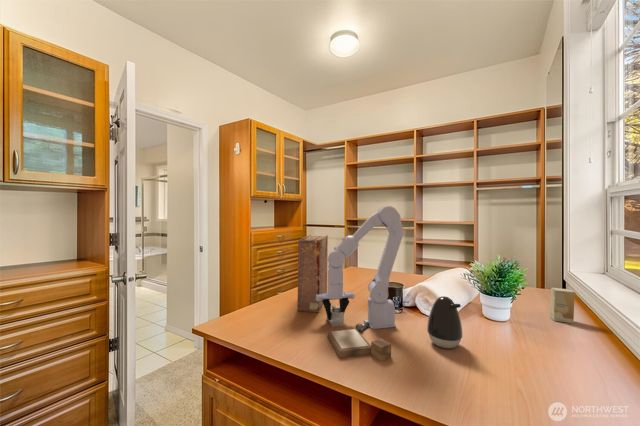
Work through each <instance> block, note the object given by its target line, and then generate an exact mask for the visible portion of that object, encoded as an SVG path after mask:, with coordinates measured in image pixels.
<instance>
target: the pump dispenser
mask: <svg viewBox="0 0 640 426" xmlns="http://www.w3.org/2000/svg"><path fill="white" fill-rule="evenodd" d="M458 308H462V307H461V303H455V302H454V301H453V299H452V298H450V297H448V296H446V295H445V296H438V298H436V299H435V301H434V303H433V305H432V307H431V310H430V312H429V317H428V320H427V326H426V328H427V329H426V331H427V333H428V337H429V339H430V340H431V342H432V343H433V344H434V345H436V346H438V347H440V348H443V349H453V348H456V347H457V346H458V345H459V344H460V343H461V340H462V339H463V337H464V336H463V327H462V326H463V325H462V321H461V317H460V314H459V311H458Z"/></svg>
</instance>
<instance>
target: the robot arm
mask: <svg viewBox="0 0 640 426" xmlns="http://www.w3.org/2000/svg"><path fill="white" fill-rule="evenodd" d="M381 225H384V226H385V229H386V231H387V232H388V235H387V239H386V242H385V244H384V247H383V251H382V254H381V257H380V260H379V263H378V267H377V270H376V272H375V274H374V276H373V278H372V280H371V281H370V282H369V284H368V286H367V288H368V291H369V293H370V294H369V296H368V297H367V318H366V319H363V322H364V323H366V322H369V324H370V325H369V326H368V327H370V329H372V330H377V329H389V328H395V327H396V320H395V319H396V308H395V304H394V302H393V300H392V299H390V298H389V286H390V276H391V273H392V270H393V267H394V265H395V261H396V258H397V255H398V251H399V249H400V245H401V242H402V239H403V236H404V233H405V230H404V227H403V224H402V219H401V215H400V213H399V212H398V210H397V209H396V208H395V207H393V206H390V205H387V206H381V207H379V209H378V210H377V211H375V212H374V213H372V214H371V215H370V216H369V217H368V218H367V219H365V221H364V222H363V223H362V224H361V226H360V227H359V228H358V229H357V230H356V231H355V232H354V233H353V235H347V236H343V237H342V239H341V240H342V241H340V242H339V244H338V245H337V246H334V247H333V250H331V252H330V253H329V255H328V256H327V263H328V265H327V293H324V294H319V295H316V300H317V301H321V300H322V302H323V306H324V309H325V310H324V311H325V313H326V320H327V319H328V320H330V309H331V306H332V303H331V301H333V300H334V301H335V300H338V301H339V307H340V308H341V310H342V311H343V312H344V314H345V312H346V310H347V308H348V306H349V304H350V300H349V299H352V300H353V299H354V300H355V293H354V292H351V291H350V292H344V269H343V265H344V261H345V259H348V258H350V257H349V256H351V255H352V254H353V253H354V252H355V251H356V250H357V248H358V247H359V242H360V241H361V240H362V239H363V238H364V237H365V235H367V234H368V233H369V232H370V231H372V229H373V228H375V227H379V226H381ZM388 298H389V299H388ZM330 300H331V301H330ZM328 320H327V321H328ZM396 328H397V327H396Z"/></svg>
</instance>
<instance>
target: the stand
mask: <svg viewBox="0 0 640 426" xmlns="http://www.w3.org/2000/svg"><path fill="white" fill-rule="evenodd" d="M327 338H328V341H329V342H330V344H331V345H332V347H333V348H334V351H335V352H336V354H337V356H338V358H339V359H344V358H350V357H360V356H368V355H371V343H369V342H368V341H367V339H366V338H365V337H364V336H363V335H362V334H361V332H359V331H358V330H357V329H356V328H352V329H351V328H350V329H342V330H332V331H330V330H329V331H327Z"/></svg>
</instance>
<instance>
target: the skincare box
mask: <svg viewBox="0 0 640 426" xmlns="http://www.w3.org/2000/svg"><path fill="white" fill-rule="evenodd" d="M575 295H576V293H575V291H573V290H572V289H567V288H560V287H550V301H549V303H550V305H549V318H550V319H551V320H553V321H554V322H560V323H561V322H562V323H568V324H574V321H575V319H574V314H575Z"/></svg>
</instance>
